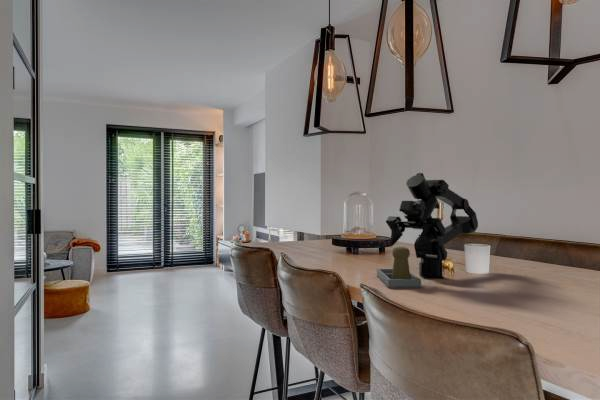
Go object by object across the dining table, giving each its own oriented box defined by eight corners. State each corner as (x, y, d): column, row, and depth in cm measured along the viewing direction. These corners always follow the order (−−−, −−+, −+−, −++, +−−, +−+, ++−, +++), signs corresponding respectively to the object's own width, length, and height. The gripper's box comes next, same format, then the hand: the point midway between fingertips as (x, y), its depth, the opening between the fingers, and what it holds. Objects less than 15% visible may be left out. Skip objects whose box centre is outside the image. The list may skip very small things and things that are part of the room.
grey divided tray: (405, 276, 142) (405, 268, 142) (421, 287, 123) (420, 279, 123) (376, 276, 142) (376, 268, 141) (388, 288, 123) (388, 279, 123)
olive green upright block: (406, 286, 124) (405, 248, 124) (387, 283, 127) (387, 247, 127) (414, 282, 128) (414, 246, 128) (396, 280, 132) (396, 245, 132)
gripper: (389, 192, 139) (367, 227, 132) (440, 191, 125) (419, 230, 118) (403, 214, 144) (383, 249, 137) (453, 216, 130) (434, 255, 123)
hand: (403, 246), depth 129 cm, fingers open, 9 cm apart
